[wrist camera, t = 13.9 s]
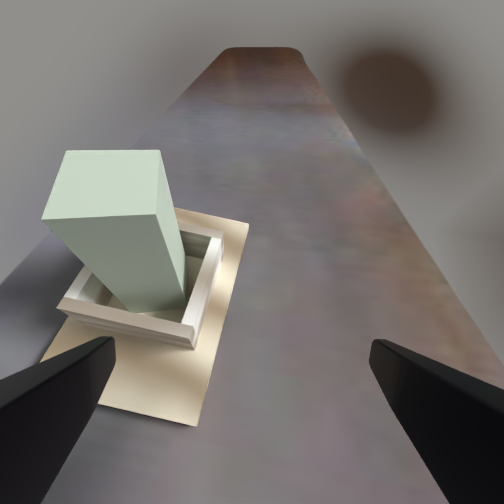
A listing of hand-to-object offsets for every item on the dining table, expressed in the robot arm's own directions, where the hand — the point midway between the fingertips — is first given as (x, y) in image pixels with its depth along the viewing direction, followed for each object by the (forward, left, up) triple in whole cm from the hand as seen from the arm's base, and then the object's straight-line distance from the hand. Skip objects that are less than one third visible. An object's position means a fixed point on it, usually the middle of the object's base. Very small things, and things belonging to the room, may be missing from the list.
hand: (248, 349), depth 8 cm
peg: (+6, +8, -12) cm, 15 cm away
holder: (+6, +8, -13) cm, 16 cm away
